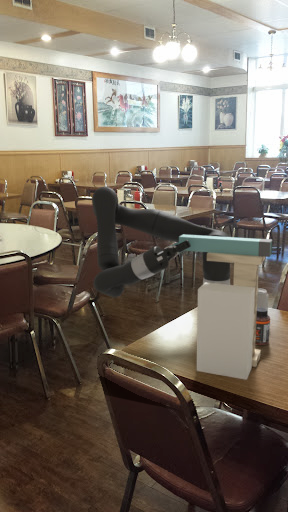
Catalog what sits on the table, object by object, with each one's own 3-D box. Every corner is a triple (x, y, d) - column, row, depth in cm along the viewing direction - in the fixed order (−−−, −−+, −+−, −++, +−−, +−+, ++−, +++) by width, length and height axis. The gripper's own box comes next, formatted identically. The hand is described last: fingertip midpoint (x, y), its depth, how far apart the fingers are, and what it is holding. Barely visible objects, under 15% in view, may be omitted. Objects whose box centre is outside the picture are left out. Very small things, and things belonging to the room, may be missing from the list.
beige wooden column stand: (211, 348, 146) (214, 248, 139) (260, 355, 141) (265, 251, 133) (204, 358, 139) (206, 253, 132) (255, 367, 133) (260, 257, 126)
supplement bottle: (246, 342, 150) (247, 309, 148) (256, 337, 154) (257, 304, 152) (262, 347, 146) (264, 313, 144) (272, 342, 150) (274, 308, 148)
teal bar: (183, 247, 141) (183, 234, 140) (271, 253, 131) (272, 239, 130) (178, 250, 137) (178, 236, 136) (269, 256, 127) (270, 242, 126)
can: (252, 326, 163) (253, 293, 161) (242, 319, 170) (243, 287, 168) (271, 324, 165) (273, 292, 163) (260, 317, 172) (262, 286, 170)
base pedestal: (203, 360, 138) (205, 282, 132) (251, 368, 132) (254, 287, 127) (196, 370, 131) (197, 289, 126) (246, 379, 126) (250, 294, 121)
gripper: (134, 257, 138) (179, 233, 131) (152, 248, 150) (194, 225, 143) (146, 279, 138) (192, 256, 131) (163, 268, 150) (206, 246, 143)
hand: (193, 240), depth 137 cm, fingers open, 8 cm apart
